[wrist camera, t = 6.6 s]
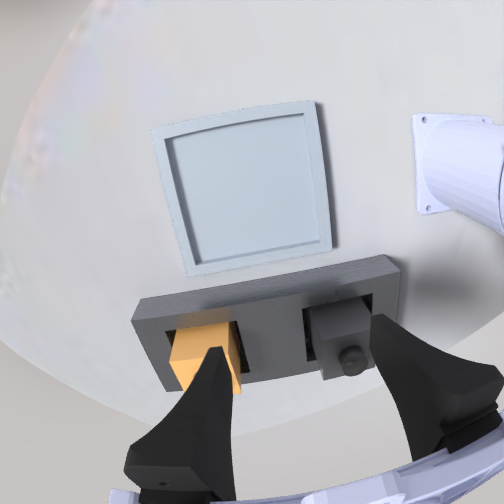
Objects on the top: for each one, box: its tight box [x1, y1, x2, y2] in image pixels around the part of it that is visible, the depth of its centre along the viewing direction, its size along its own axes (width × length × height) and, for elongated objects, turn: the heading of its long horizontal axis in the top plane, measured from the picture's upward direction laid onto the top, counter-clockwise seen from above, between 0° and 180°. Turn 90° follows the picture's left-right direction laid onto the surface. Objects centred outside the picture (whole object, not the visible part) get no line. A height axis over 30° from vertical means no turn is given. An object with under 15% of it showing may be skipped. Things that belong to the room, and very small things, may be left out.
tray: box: [150, 100, 332, 277], centre depth 20 cm, size 11×11×1 cm
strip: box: [131, 255, 401, 392], centre depth 23 cm, size 20×8×3 cm, turn 100°
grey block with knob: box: [305, 296, 375, 381], centre depth 21 cm, size 4×4×7 cm
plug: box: [169, 321, 241, 394], centre depth 21 cm, size 4×4×7 cm
